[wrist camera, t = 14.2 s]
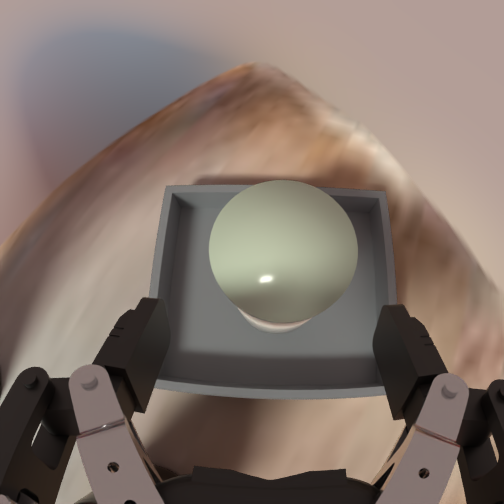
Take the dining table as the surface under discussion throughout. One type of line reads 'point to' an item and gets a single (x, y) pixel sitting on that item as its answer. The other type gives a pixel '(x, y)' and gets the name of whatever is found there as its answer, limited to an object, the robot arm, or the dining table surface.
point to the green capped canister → (282, 253)
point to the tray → (251, 339)
